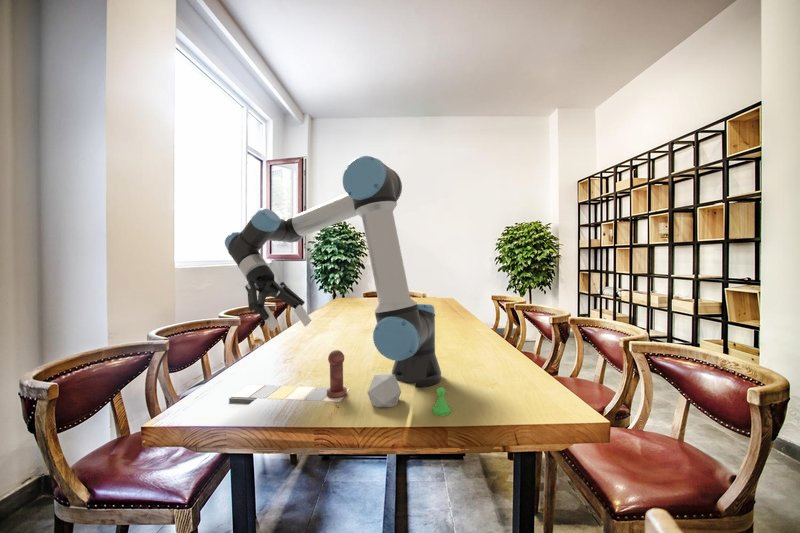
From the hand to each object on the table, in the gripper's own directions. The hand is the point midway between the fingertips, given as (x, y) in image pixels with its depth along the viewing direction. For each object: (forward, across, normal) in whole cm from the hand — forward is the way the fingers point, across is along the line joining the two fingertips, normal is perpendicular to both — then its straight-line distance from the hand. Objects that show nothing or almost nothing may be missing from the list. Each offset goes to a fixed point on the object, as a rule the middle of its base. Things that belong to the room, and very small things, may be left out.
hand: (292, 325), depth 98 cm
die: (+34, 0, +9) cm, 35 cm away
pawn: (+23, 0, 0) cm, 23 cm away
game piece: (+44, -3, +19) cm, 47 cm away
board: (+16, +4, -10) cm, 19 cm away
